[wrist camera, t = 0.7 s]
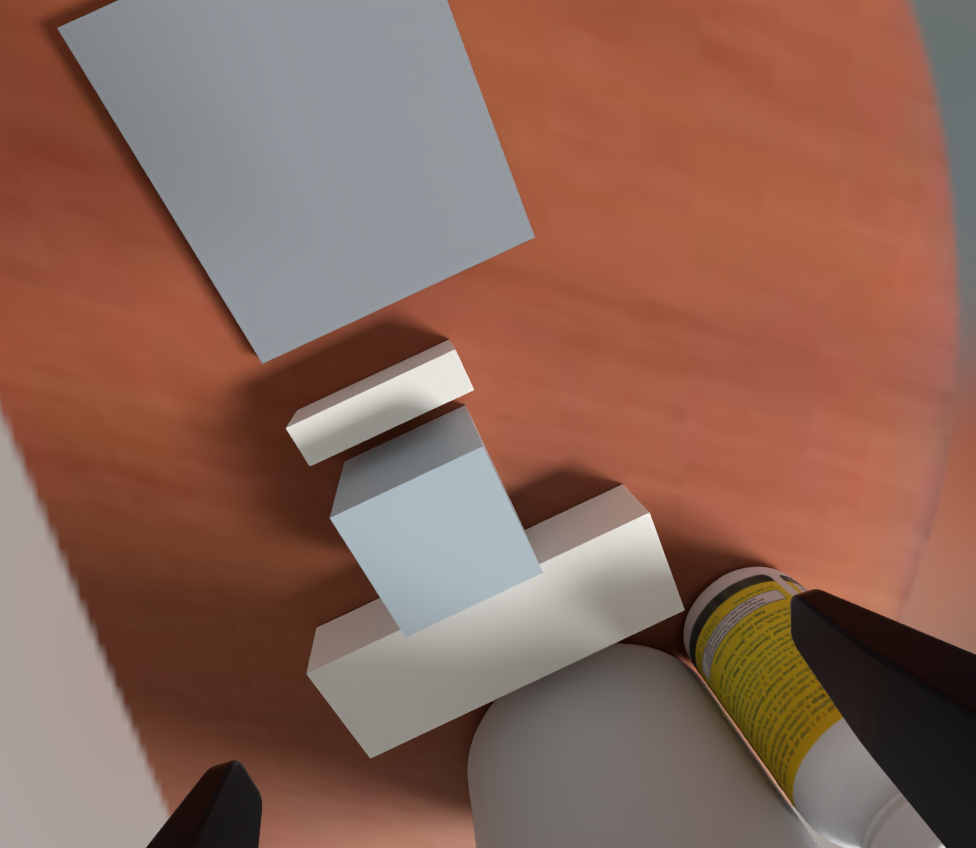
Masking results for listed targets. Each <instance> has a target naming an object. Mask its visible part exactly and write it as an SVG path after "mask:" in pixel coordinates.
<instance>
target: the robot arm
mask: <svg viewBox="0 0 976 848" xmlns="http://www.w3.org/2000/svg"><path fill="white" fill-rule="evenodd" d="M790 616H791V636H792V640H793V642H794V644H795V646H796V648H797V650H798V651H799V653H800V654H801V656H802V657H803V659H804V660H805V662H806V663H807V665H808V666H809V668H810V669H811V671H812V672H813V674H814V675H815V677H816V678H817V679H818V681H819V682H820V684H821V685H822V687H823V688H824V690H825V691H826V693H827V694H828V696H829V697H830V699H831V700H832V702H833V703H834V705H835V706H836V708H837V709H838V711H839V712H840V714H841V715H842V717H843V718H844V720H845V721H846V722H847V724H848V725H849V727H850V728H851V730H852V731H853V733H854V734H855V735H856V737H857V738H858V740H859V741H860V742H861V744H862V745H863V746H864V747H865V749H866V750H867V751H868V753H869V754H870V755H871V756H872V758H873V759H874V760H875V761H876V763H877V764H878V765H879V766H880V768H881V769H882V770H883V771H884V773H885V774H886V775H887V776H888V777H889V779H890V780H891V781H892V782H893V784H894V785H895V786H896V787H897V789H898V790H899V791H900V792H901V793H902V795H903V796H904V797H905V798H906V800H907V801H908V802H909V803H910V805H911V806H912V807H913V808H914V809H915V811H916V812H917V813H918V814H919V816H920V817H921V818H922V819H923V821H924V822H925V823H926V824H927V825H928V827H929V828H930V829H931V830H932V832H933V833H934V834H935V835H936V837H937V838H938V839H939V840H940V841H941V843H942V844H943V845H944V846H945V848H976V654H973V653H971V652H969V651H966V650H964V649H961V648H959V647H957V646H954V645H952V644H949V643H947V642H944V641H942V640H940V639H937V638H935V637H933V636H930V635H927V634H925V633H923V632H921V631H918V630H916V629H913V628H911V627H909V626H906V625H904V624H901V623H899V622H897V621H894V620H892V619H889V618H887V617H885V616H882V615H880V614H877V613H875V612H873V611H870V610H868V609H865V608H863V607H861V606H858V605H856V604H853V603H851V602H849V601H846V600H844V599H841V598H839V597H837V596H834V595H832V594H829V593H827V592H825V591H822V590H818V589H813V590H809V591H806V592H802V593H799V594H795V595H794V596H793V597H792V598H791V601H790ZM261 815H262V800H261V795H260V792H259V790H258V789H257V787H256V785H255V784H254V782H253V781H252V779H251V777H250V776H249V774H248V772H247V771H246V769H245V768H244V766H243V764H242V763H241V762H239V761H237V760H233V761H229V762H226V763H223V764H219V765H216V766H213V767H211V768H210V769H209V770H207V771H206V773H205V774H204V775H203V776H202V777H201V779H200V780H199V781H198V782H197V784H196V785H195V786H194V787H193V789H192V790H191V791H190V793H189V794H188V795H187V796H186V798H185V799H184V800H183V801H182V803H181V804H180V805H179V807H178V808H177V809H176V810H175V812H174V813H173V814H172V815H171V817H170V818H169V819H168V820H167V822H166V823H165V824H164V826H163V827H162V828H161V829H160V831H159V832H158V833H157V834H156V836H155V837H154V838H153V840H152V841H151V842H150V843H149V845H148V846H147V847H146V848H258V846H259V835H260V825H261Z"/></svg>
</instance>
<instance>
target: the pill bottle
mask: <svg viewBox="0 0 976 848" xmlns="http://www.w3.org/2000/svg"><path fill="white" fill-rule="evenodd" d="M806 591H808V590H807V589H805V588H804V587H803V586H802V585H800V584H799V583H798V582H796V581H795V580H794V579H793V578H791V577H790V576H788V575H787V574H785V573H783V572H781V571H779V570H776V569H772V568H768V567H748V568H742V569H738V570H735V571H732V572H730V573H727V574H725V575H724V576H722V577H720V578H719V579H717V580H716V581H714V582H713V583H712V584H711V585H710V586H708V587H707V588H706V589H705V590H704V591H703V592H702V593H701V594H700V595H699V597H698V598H697V599H696V601H695V602H694V604H693V605H692V607H691V609H690V611H689V613H688V615H687V618H686V621H685V625H684V634H683V638H684V646H685V649H686V652H687V654H688V656H689V658H690V660H691V661H692V663H693V664H694V666H695V668H696V669H697V671H698V672H699V673H700V675H701V676H702V678H703V679H704V681H705V682H706V683H707V685H708V686H709V688H710V689H711V690H712V692H713V693H714V694H715V696H716V697H717V699H718V700H719V702H720V703H721V704H722V706H723V708H724V709H725V710H726V711H727V713H728V714H729V716H730V717H731V719H732V720H733V721H734V723H735V724H736V725H737V727H738V728H739V730H740V731H741V732H742V734H743V735H744V737H745V738H746V739H747V741H748V742H749V744H750V745H751V747H752V748H753V749H754V751H755V752H756V753H757V755H758V756H759V758H760V759H761V760H762V762H763V763H764V765H765V766H766V767H767V769H768V770H769V772H770V773H771V774H772V776H773V777H774V779H775V780H776V782H777V784H778V785H779V787H780V788H781V789H782V790H783V791H784V793H785V794H786V796H787V797H788V798H789V800H790V801H791V803H792V805H793V806H794V807H795V808H796V809H797V811H798V812H799V813H800V814H801V816H802V817H803V818H804V819H805V821H806V822H807V823H808V824H809V825H810V826H811V827H812V828H813V829H814V830H815V831H816V832H817V833H818V834H820V835H821V836H822V837H824V838H825V839H827V840H829V841H830V842H832V843H834V844H837V845H839V846H842V847H845V848H945V846H944V845H943V844H942V843H941V841H940V840H939V839H938V838H937V837H936V835H935V834H934V833H933V832H932V830H931V829H930V828H929V827H928V825H927V824H926V823H925V822H924V821H923V819H922V818H921V817H920V816H919V814H918V813H917V812H916V811H915V809H914V808H913V807H912V806H911V805H910V803H909V802H908V801H907V800H906V798H905V797H904V796H903V795H902V793H901V792H900V791H899V790H898V789H897V787H896V786H895V785H894V784H893V782H892V781H891V780H890V779H889V777H888V776H887V775H886V774H885V773H884V771H883V770H882V769H881V768H880V766H879V765H878V764H877V763H876V761H875V760H874V759H873V758H872V756H871V755H870V754H869V753H868V751H867V750H866V749H865V747H864V746H863V745H862V744H861V742H860V741H859V740H858V738H857V737H856V735H855V734H854V733H853V731H852V730H851V728H850V727H849V725H848V724H847V722H846V721H845V720H844V718H843V717H842V715H841V714H840V712H839V711H838V709H837V708H836V706H835V705H834V703H833V702H832V700H831V699H830V697H829V696H828V694H827V693H826V691H825V690H824V688H823V687H822V685H821V684H820V682H819V681H818V679H817V678H816V677H815V675H814V674H813V672H812V671H811V669H810V668H809V666H808V665H807V663H806V662H805V660H804V659H803V657H802V656H801V654H800V653H799V651H798V650H797V648H796V646H795V644H794V642H793V640H792V636H791V616H790V601H791V598H792V597H793V596H794V595H795V594H799V593H802V592H806Z"/></svg>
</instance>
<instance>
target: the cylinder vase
mask: <svg viewBox="0 0 976 848" xmlns="http://www.w3.org/2000/svg"><path fill="white" fill-rule="evenodd" d="M467 774H468V785H469V793H470V801H471V809H472V817H473V825H474V833H475V841H476V848H820V847H819V846H818V845H817V843H816V842H815V840H814V839H813V837H812V836H811V834H810V833H809V832H808V830H807V829H806V828H805V826H804V824H803V823H802V822H801V821H800V819H799V817H798V816H797V814H796V813H795V812H794V810H793V809H792V807H791V806H790V804H789V803H788V802H787V800H786V799H785V797H784V796H783V794H782V793H781V792H780V790H779V789H778V787H777V786H776V784H775V783H774V782H773V780H772V779H771V777H770V776H769V774H768V773H767V772H766V770H765V769H764V767H763V766H762V764H761V763H760V761H759V760H758V759H757V757H756V756H755V754H754V753H753V751H752V750H751V749H750V747H749V746H748V744H747V743H746V741H745V740H744V739H743V737H742V736H741V734H740V733H739V731H738V730H737V729H736V727H735V726H734V724H733V723H732V721H731V720H730V719H729V717H728V716H727V714H726V713H725V711H724V710H723V709H722V707H721V706H720V704H719V703H718V701H717V700H716V699H715V697H714V696H713V694H712V693H711V691H710V690H709V689H708V687H707V686H706V684H705V683H704V682H703V680H702V679H701V678H700V677H699V676H698V675H697V674H696V673H695V672H694V671H693V670H692V669H691V668H690V667H689V666H687V665H686V664H685V663H683V662H682V661H680V660H679V659H677V658H675V657H673V656H671V655H669V654H667V653H665V652H662V651H660V650H657V649H654V648H650V647H646V646H641V645H634V644H621V643H615V644H612V645H610V646H608V647H606V648H604V649H602V650H599V651H597V652H595V653H593V654H591V655H589V656H587V657H585V658H582V659H580V660H578V661H576V662H574V663H572V664H570V665H568V666H566V667H563V668H561V669H559V670H557V671H555V672H553V673H551V674H549V675H546V676H544V677H542V678H540V679H538V680H536V681H534V682H532V683H530V684H527V685H525V686H523V687H521V688H519V689H517V690H515V691H513V692H510V693H508V694H506V695H504V696H502V697H500V698H498V699H496V700H495V701H494V702H493V704H492V705H491V706H490V708H489V709H488V710H487V712H486V713H485V715H484V717H483V718H482V720H481V722H480V724H479V726H478V728H477V730H476V732H475V735H474V738H473V741H472V744H471V747H470V752H469V757H468V769H467Z"/></svg>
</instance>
